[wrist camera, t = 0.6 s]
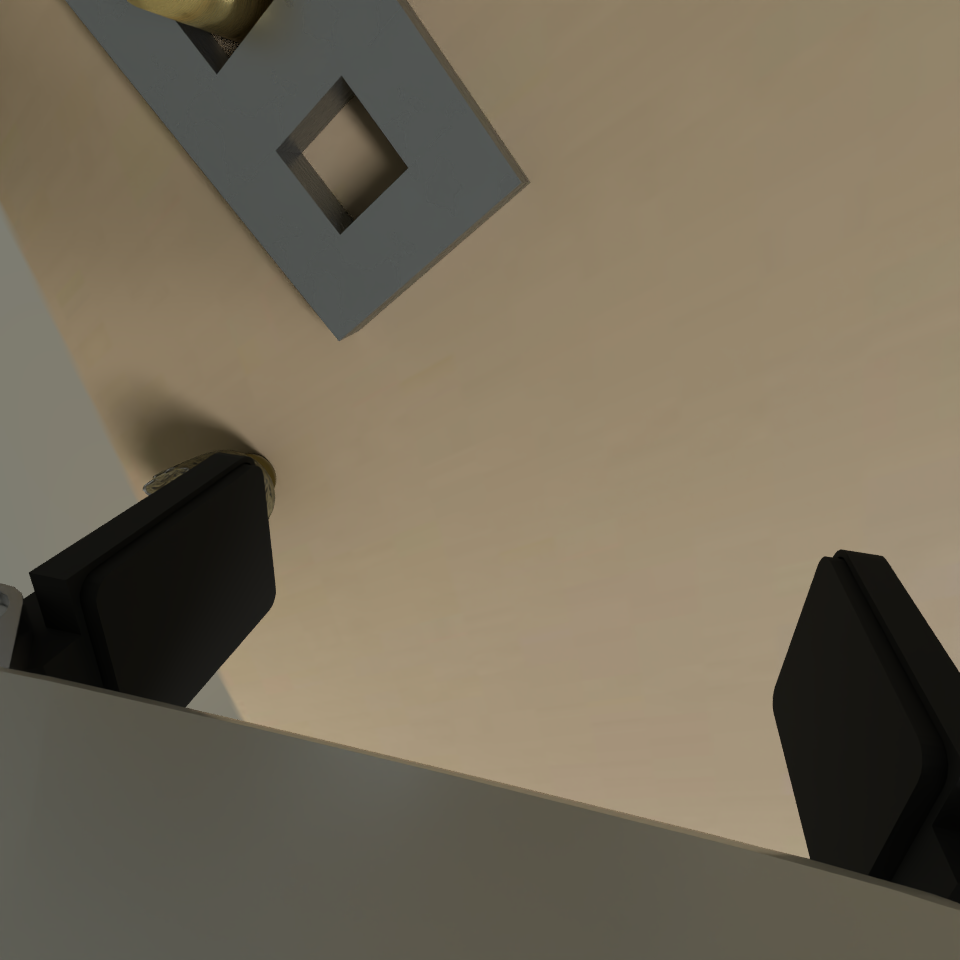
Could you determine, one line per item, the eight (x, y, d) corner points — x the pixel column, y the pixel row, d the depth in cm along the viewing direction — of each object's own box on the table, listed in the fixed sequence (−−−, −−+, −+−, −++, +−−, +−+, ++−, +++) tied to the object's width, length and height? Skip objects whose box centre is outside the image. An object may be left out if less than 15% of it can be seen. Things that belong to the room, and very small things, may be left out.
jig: (231, -257, 30) (192, -300, 27) (530, 182, 35) (521, 182, 32) (85, -14, 36) (41, -30, 33) (358, 330, 41) (339, 341, 38)
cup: (278, 416, 45) (211, 460, 38) (318, 506, 47) (262, 563, 40) (197, 437, 47) (119, 482, 40) (239, 522, 50) (173, 578, 43)
